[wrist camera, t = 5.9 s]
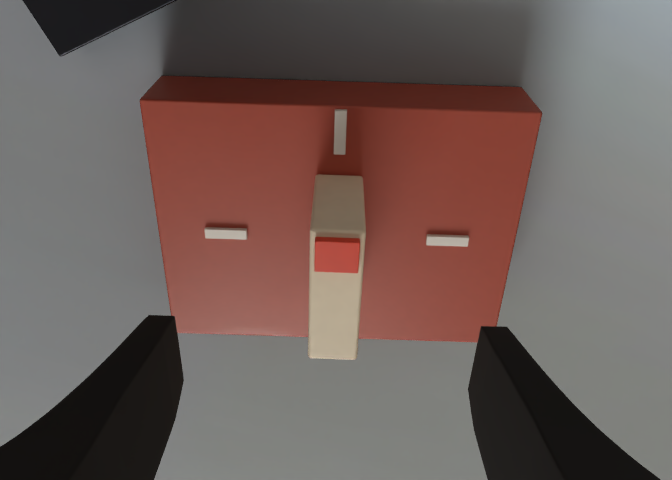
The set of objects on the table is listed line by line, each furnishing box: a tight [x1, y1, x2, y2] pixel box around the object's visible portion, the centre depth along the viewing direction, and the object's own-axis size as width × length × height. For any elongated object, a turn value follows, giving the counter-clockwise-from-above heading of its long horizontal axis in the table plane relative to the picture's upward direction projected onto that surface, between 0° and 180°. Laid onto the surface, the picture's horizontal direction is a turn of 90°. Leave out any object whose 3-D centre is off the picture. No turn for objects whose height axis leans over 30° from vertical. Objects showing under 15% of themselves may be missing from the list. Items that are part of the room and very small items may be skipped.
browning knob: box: [308, 174, 366, 360], centre depth 19 cm, size 5×2×4 cm, turn 178°
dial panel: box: [140, 76, 542, 342], centre depth 21 cm, size 12×9×3 cm
